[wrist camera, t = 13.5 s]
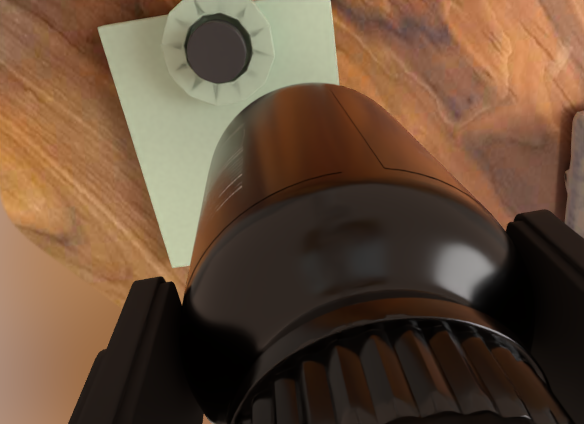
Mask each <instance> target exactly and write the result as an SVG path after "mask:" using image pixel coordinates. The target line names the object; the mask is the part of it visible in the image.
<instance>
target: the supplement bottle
mask: <svg viewBox="0 0 584 424" xmlns="http://www.w3.org/2000/svg"><path fill="white" fill-rule="evenodd" d="M534 330H535V301H534V294H533V288H532V283H531V279H530V276H529V273H528V269H527V267H526V265H525V262H524V260H523V258H522V256H521V254H520V251H519V250H518V248H517V247H516V245H515V243H514V242H513V240H512V239H511V237H510V236H509V235H508V234H507V232H506V231H505V230H504V229H503V228H502V226H501V225H500V224H499V223H498V221H497V220H496V219H495V218H494V217H493V216H492V214H491V213H490V212H489V211H488V210H487V209H486V208H485V207H484V206H483V205H482V204H481V203H480V202H479V201H478V200H477V199H476V198H475V197H474V196H473V195H472V194H471V193H470V192H469V191H468V190H467V189H465V188H464V187H463V186H462V185H461V184H460V183H459V182H458V181H457V180H456V179H455V178H454V177H453V176H452V175H451V174H450V173H449V172H448V171H447V170H446V169H445V168H444V167H443V166H442V165H441V164H440V163H439V162H438V161H437V160H436V159H435V158H434V157H433V156H432V155H431V154H430V153H429V152H428V151H427V150H426V149H425V148H424V147H423V146H422V145H421V144H420V143H419V142H418V141H417V140H416V139H415V138H414V137H413V136H412V135H411V134H410V133H409V132H408V131H407V130H406V129H405V128H404V127H403V126H402V125H401V124H400V123H399V122H398V121H397V120H396V119H395V118H393V117H392V116H391V115H390V114H389V113H388V112H387V111H386V110H385V109H384V108H382V107H381V106H380V105H379V104H377V103H376V102H375V101H373V100H372V99H370V98H368V97H367V96H365V95H363V94H361V93H359V92H357V91H355V90H353V89H350V88H347V87H344V86H340V85H336V84H330V83H319V82H310V83H299V84H294V85H289V86H285V87H282V88H279V89H276V90H274V91H271V92H269V93H267V94H265V95H263V96H261V97H259V98H258V99H256V100H255V101H253V102H252V103H250V104H249V105H248V106H247V107H245V108H244V109H243V110H242V111H241V112H240V113H239V114H238V115H237V116H236V117H235V118H234V119H233V120H232V121H231V123H230V124H229V125H228V127H227V128H226V130H225V131H224V132H223V134H222V136H221V138H220V140H219V142H218V144H217V146H216V149H215V151H214V154H213V157H212V161H211V164H210V168H209V172H208V177H207V182H206V187H205V192H204V197H203V202H202V207H201V212H200V217H199V222H198V227H197V232H196V237H195V242H194V247H193V252H192V257H191V262H190V267H189V272H188V277H187V282H186V287H185V293H184V298H183V304H182V310H181V319H180V334H179V344H180V355H181V360H182V365H183V370H184V373H185V376H186V379H187V382H188V385H189V387H190V390H191V392H192V394H193V396H194V398H195V400H196V401H197V403H198V405H199V407H200V408H201V410H202V411H203V413H204V414H205V416H206V417H207V419H208V420H209V421H210V422H211V423H212V424H575V422H574V421H573V419H572V418H571V417H570V415H569V414H568V413H567V411H566V410H565V408H564V407H563V406H562V404H561V403H560V402H559V400H558V399H557V398H556V396H555V395H554V393H553V392H552V391H551V387H550V384H549V382H548V379H547V377H546V375H545V373H544V371H543V370H542V368H541V367H540V365H539V364H538V362H537V361H536V359H535V358H534V357H533V356H532V354H531V348H532V344H533V339H534Z"/></svg>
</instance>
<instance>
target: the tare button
mask: <svg viewBox="0 0 584 424" xmlns="http://www.w3.org/2000/svg"><path fill="white" fill-rule="evenodd" d="M246 53H247V47H246V42H245V39H244V36H243V35H242V33H241V32H240V30H239V29H238V28H237V27H236V26H235V25H233V24H232V23H230V22H228V21H225V20H221V19H214V20H209V21H206V22H204V23H203V24H201V25H200V26H199V27H198V28H197V29H196V30H195V31H194V32H193V33H192V34H191V36H190V38H189V41H188V44H187V57H188V61H189V64H190V66H191V67H192V69H193V70H194V72H195V73H196V74H197V75H198V76H199V77H201V78H202V79H204V80H206V81H209V82H212V83H224V82H228V81H230V80H232V79H234V78H235V77H236V76H237V75H238V74H239V73H240V72H241V70H242V69H243V67H244V64H245V61H246Z"/></svg>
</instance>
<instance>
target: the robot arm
mask: <svg viewBox="0 0 584 424" xmlns="http://www.w3.org/2000/svg"><path fill="white" fill-rule="evenodd" d="M506 232H507V234H508V235H509V236H510V237H511V239H512V240H513V242H514V243H515V245H516V247H517V248H518V250H519V251H520V254H521V256H522V258H523V260H524V262H525V265H526V267H527V269H528V273H529V276H530V279H531V283H532V288H533V294H534V301H535V330H534V339H533V344H532V348H531V354H532V356H533V357H534V358H535V359H536V361H537V362H538V364H539V365H540V367H541V368H542V370H543V371H544V373H545V375H546V377H547V379H548V382H549V384H550V387H551V391H552V392H553V393H554V395H555V396H556V398H557V399H558V400H559V402H560V403H561V404H562V406H563V407H564V408H565V410H566V411H567V413H568V414H569V415H570V417H571V418H572V419H573V421H574V422H575V424H584V238H583V237H581V236H580V235H579V234H578V233H576V232H575V231H574V230H573V229H571V228H570V227H569V226H568V225H566V224H565V223H564V222H563V221H561V220H560V219H559V218H558V217H556V216H555V215H554V214H553V213H551V212H550V211H548V210H539V211H533V212H527V213H521V214H518V215H516V217H515V219H514V222H510V223H509V224H508V225H507V229H506ZM181 310H182V305H181V302H180V299H179V295H178V292H177V289H176V287H175V284H174V283H173V282H165V280H164V278H163V277H155V278H149V279H144V280H138V281H135V282H134V283H133V284H132V287H131V289H130V292H129V294H128V297H127V299H126V302H125V304H124V307H123V309H122V312H121V314H120V317H119V319H118V322H117V324H116V327H115V329H114V332H113V334H112V337H111V339H110V342H109V344H108V347H107V349H105V350H102V351H101V352H99V353H98V355H97V357H96V359H95V361H94V363H93V366H92V368H91V371H90V373H89V375H88V378H87V380H86V382H85V385H84V387H83V390H82V392H81V394H80V397H79V399H78V402H77V404H76V406H75V409H74V411H73V414H72V416H71V418H70V421H69V423H68V424H202V423H203V414H204V413H203V411H202V410H201V408H200V407H199V405H198V403H197V401H196V400H195V398H194V396H193V394H192V392H191V390H190V387H189V385H188V382H187V379H186V376H185V373H184V370H183V365H182V360H181V355H180V344H179V334H180V319H181Z"/></svg>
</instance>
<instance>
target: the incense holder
mask: <svg viewBox="0 0 584 424" xmlns="http://www.w3.org/2000/svg"><path fill="white" fill-rule="evenodd" d="M564 179H565V186H566V189H567V194H568V197H567V206H566V213H565V222H564V223H565V224H566V225H568V226H569V227H570V228H571V229H573V230H574V231H575V232H576V233H578V234H579V235H580V236H581V237H583V238H584V110H583V111H581V112H577V113H576V115H575V116H574V119H573V124H572V140H571V162H570V169H569V170H567V171H566V172H565V174H564Z"/></svg>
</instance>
